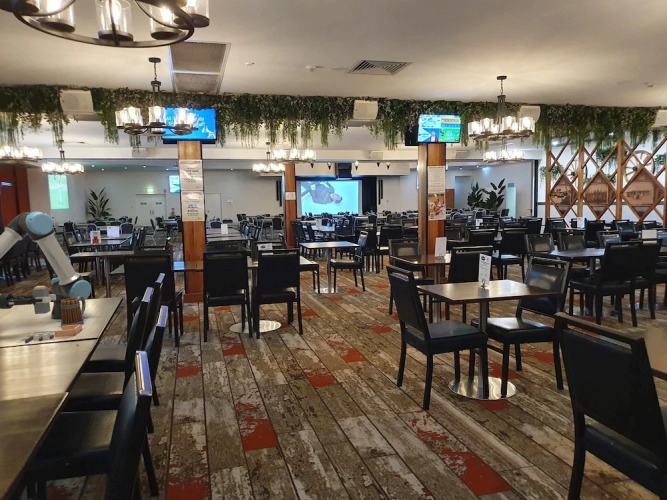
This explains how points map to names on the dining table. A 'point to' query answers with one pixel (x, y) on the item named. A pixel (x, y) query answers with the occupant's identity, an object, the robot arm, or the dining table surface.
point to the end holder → (68, 330)
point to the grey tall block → (41, 292)
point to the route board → (43, 334)
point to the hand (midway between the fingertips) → (52, 298)
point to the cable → (39, 338)
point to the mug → (72, 311)
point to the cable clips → (45, 336)
